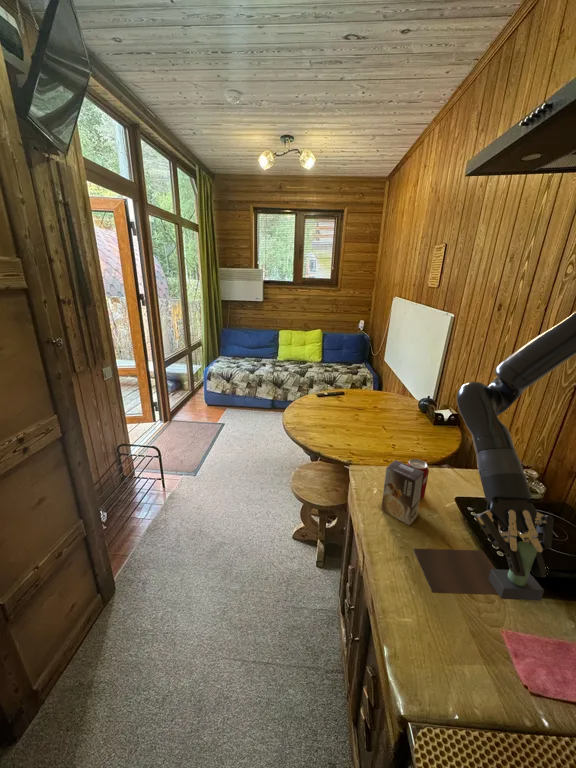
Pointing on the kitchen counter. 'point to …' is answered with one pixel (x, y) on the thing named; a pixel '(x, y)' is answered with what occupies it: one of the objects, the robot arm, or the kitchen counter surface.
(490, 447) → the robot arm
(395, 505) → the coffee box
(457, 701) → the kitchen counter surface
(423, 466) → the soda can
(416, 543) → the kitchen counter surface
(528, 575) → the green post on base
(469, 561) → the board
